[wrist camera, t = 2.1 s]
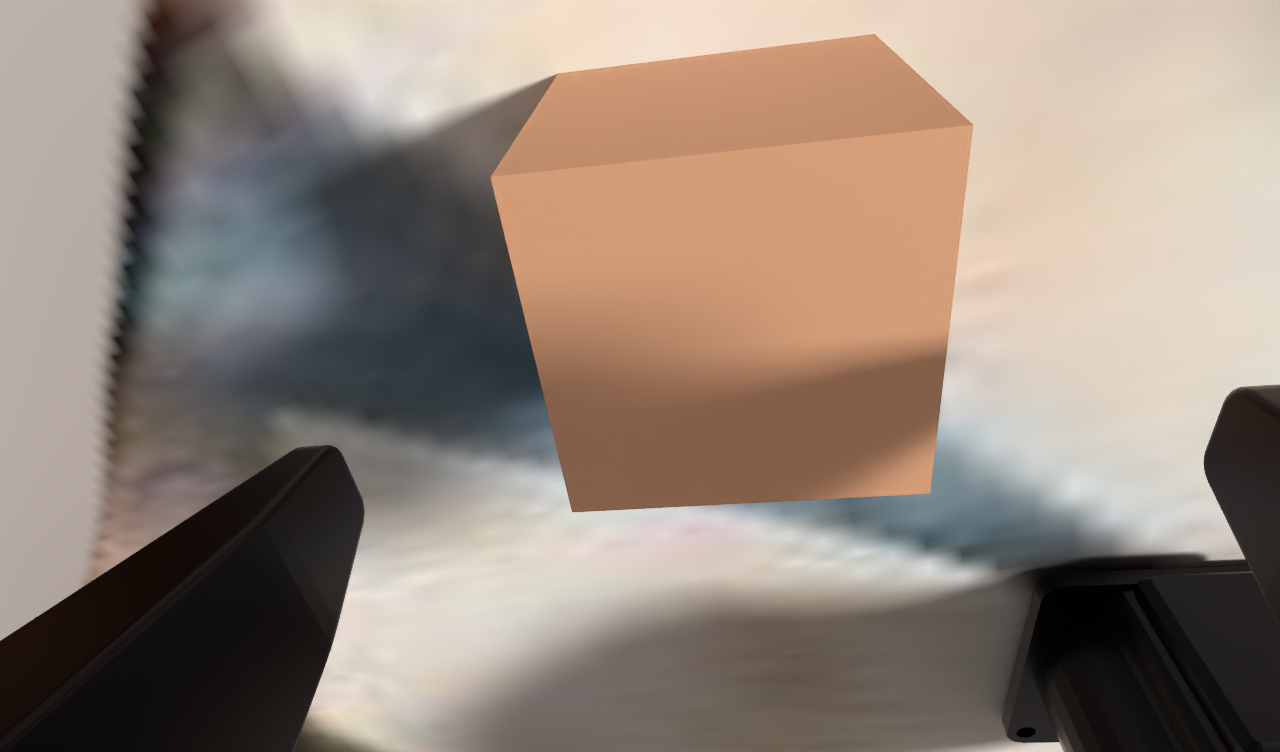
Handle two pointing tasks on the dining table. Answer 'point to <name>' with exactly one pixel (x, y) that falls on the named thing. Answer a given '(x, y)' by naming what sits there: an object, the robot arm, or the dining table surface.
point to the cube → (739, 273)
